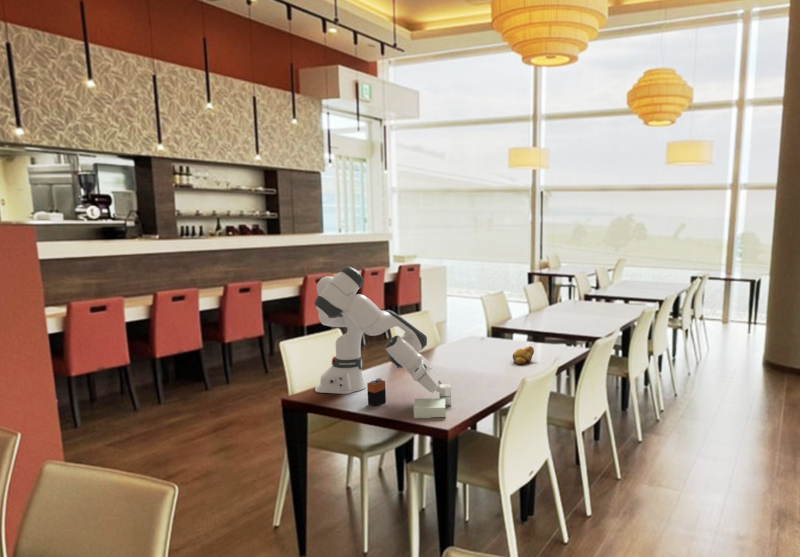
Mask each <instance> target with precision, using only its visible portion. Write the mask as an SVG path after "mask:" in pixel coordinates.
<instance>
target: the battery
mask: <svg viewBox="0 0 800 557" xmlns="http://www.w3.org/2000/svg"><path fill="white" fill-rule="evenodd" d="M366 387H367V404H368V405H369V406H372V407H377V406H380V405H382V404H384V403H386V401H387V394H386V393H387V392H386V381H385V380H382V378H381V377H379V378H375V380H371V381H370V382H367V386H366Z"/></svg>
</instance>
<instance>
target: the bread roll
mask: <svg viewBox="0 0 800 557" xmlns="http://www.w3.org/2000/svg"><path fill="white" fill-rule="evenodd" d="M534 353H535V349H534V347H533V346H526V347H524V348H519V349H516V350H515V351H514V352H513V354H512V360H513V362H515V363H516V364H518V365H524V364H527V363H530V362H531V361H532V359H533V355H534Z"/></svg>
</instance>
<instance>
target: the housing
mask: <svg viewBox="0 0 800 557" xmlns="http://www.w3.org/2000/svg"><path fill="white" fill-rule="evenodd" d="M439 386H440V387H441V388H442V389H444V390H445V394H444V395H442V394H440V393H439V392H438V393H439V396H438V397H439V398H445V405H451V406H452V392H451V391H452V389H451V388H452V387H451V383H447V384H446V383H442V384H439Z"/></svg>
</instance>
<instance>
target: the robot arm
mask: <svg viewBox="0 0 800 557" xmlns="http://www.w3.org/2000/svg"><path fill="white" fill-rule="evenodd" d="M363 284H364V278H363V276H362V274H361V273H360V272H359V271H358V269H356V268H353V267H351V266H345V267H342V268H341V269H340V270H339V271H338V273H337V274H335V276H330V275H327V276H323V277H322V278H321V279H319V281H318V282H317V285H316V292H317V296H316V298H315V300H314V303H313V304H314V307H315V308H316V310H317V312H318V315H317V316H318V319H319V322H320V323H321V325H323V326H327V327H333V328H346V329H347V330H346V332H345V333H344V334H342V335H340V336H338V338H336V341H335V355H334V356H332V359H331V366H330V367H329V368H328V369H327V370H325V371H324V372H323V373H322V375H321V376H320V379H319V380H320V381H319V383H318V384H316V385H315V387H314V391H315V393H322V394H324V393H325V394H326V393H327V394H338V395H341V394H342V395H348V394H351V393H354V392H355V393H356V392H359V391H361V390H364V389H365V388H366V384H365V381H364V376H363V370H362V369H363V359H362V358H363V357H362V355H361V354H362V353H361V346H362V345H361V344H362V338H363V334H365V335H367V336H371V337H372V336H374V337H375V336H380V335H381V334H383V333H385V332H387V331H389V330H390V329H392V328H395V327H398V328H399V329H401V330H402V331H403V332H404V334H403V335H402V336H400V335H394V336H393V337H391V338H390V339H389V340H388V341H387V342H386V345H385V347H384V348H385V350H386V352H388V353H387V361H388V362H390V363H392V364H393V365H394V367H396V369H403V368H404V369H405V371H406V372H407V373H408V374H409V375H410V376H411V378H412V379H413V381H415V382H418V383H419V384H420V385H421V386H422V387H423V388H425V389H426V390H427V391H428V392H430V393H432V394H434V393H435V392H438V393H440V394H442V395H444V394H445V390H444V389H442V388H441V387H440V386H439V384H443V383H442V381H441V379H439V372H438V371H436V369H434V367H432V366H431V365H430V361H429V360H428V359H427V358H425V357H424V355H423V354H421V353H420V352H421V351H422V350H423V349H424V348H425V347H427V345H428V337H427V335H426V333H424V332H423V331H422V330H421V329H419V328H417V327H415V326H414V325H413V324H411V323H410V322H408V321H407V320H406V319H405V318H404V317H402V316H400V315H399V314H397V313H396V312H394V311H393V310H392V309H391V310H390V309H386V310H382V309H380V308H379V307H378V305H377V304H376V303H374V302H373V301H372V300H371V299H370V298H368V297H367V296H366V295H364V294H361V293H358V294H357V292H358V290H360V289H361V287H362V286H363Z"/></svg>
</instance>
